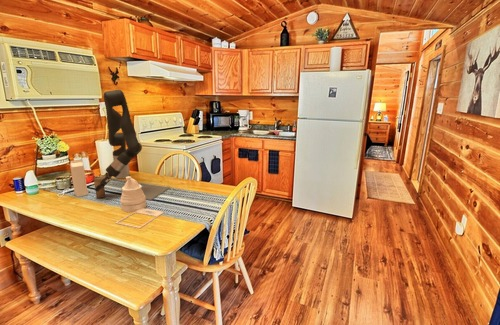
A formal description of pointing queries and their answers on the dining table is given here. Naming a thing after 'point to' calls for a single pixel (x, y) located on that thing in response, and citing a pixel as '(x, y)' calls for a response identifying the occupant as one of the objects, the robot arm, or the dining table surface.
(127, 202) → the honey pot
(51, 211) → the dining table surface
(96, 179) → the walnut peg
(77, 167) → the milk
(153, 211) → the photo frame
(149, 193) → the slate mat
